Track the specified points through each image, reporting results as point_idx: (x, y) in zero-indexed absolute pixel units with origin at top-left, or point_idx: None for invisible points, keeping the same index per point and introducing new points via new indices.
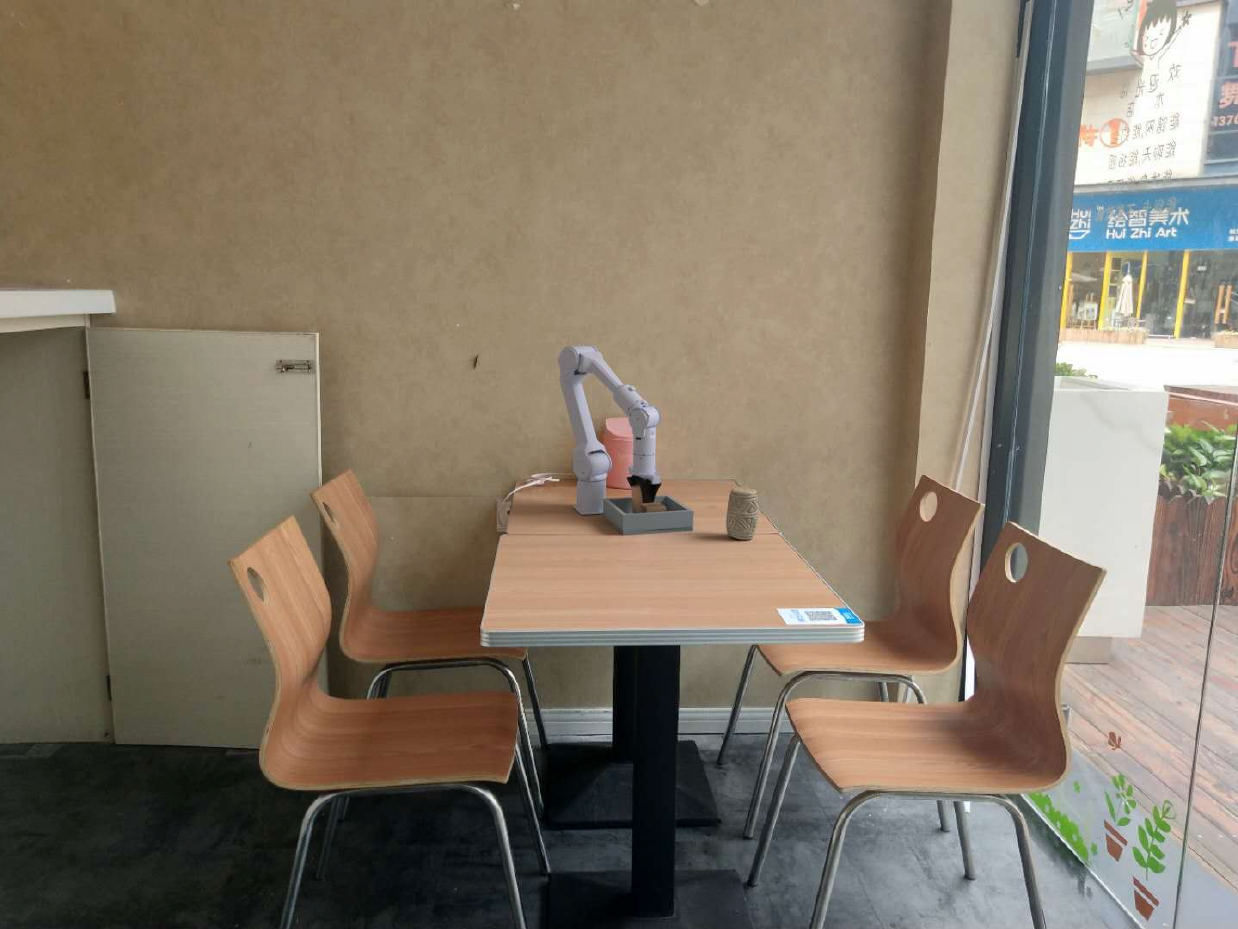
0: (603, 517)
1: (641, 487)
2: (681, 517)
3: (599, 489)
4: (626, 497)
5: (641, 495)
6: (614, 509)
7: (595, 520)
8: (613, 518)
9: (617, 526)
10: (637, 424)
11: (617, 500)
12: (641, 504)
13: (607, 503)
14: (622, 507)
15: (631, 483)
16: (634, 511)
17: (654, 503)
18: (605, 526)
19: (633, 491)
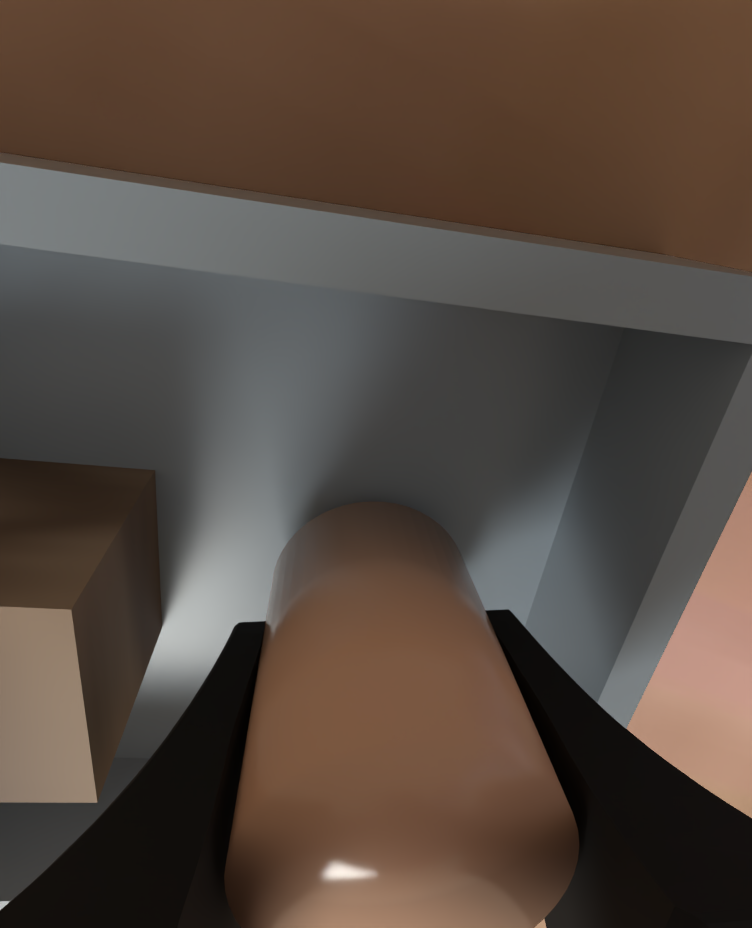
0: (649, 252)
1: (108, 890)
2: None
3: None
4: (678, 602)
5: (248, 737)
6: (158, 185)
7: (605, 104)
8: (239, 192)
9: (58, 162)
10: None
11: (680, 473)
12: (26, 605)
13: (586, 250)
14: (608, 486)
15: (619, 833)
16: (348, 524)
17: (51, 750)
18: (299, 99)
19: (352, 708)
